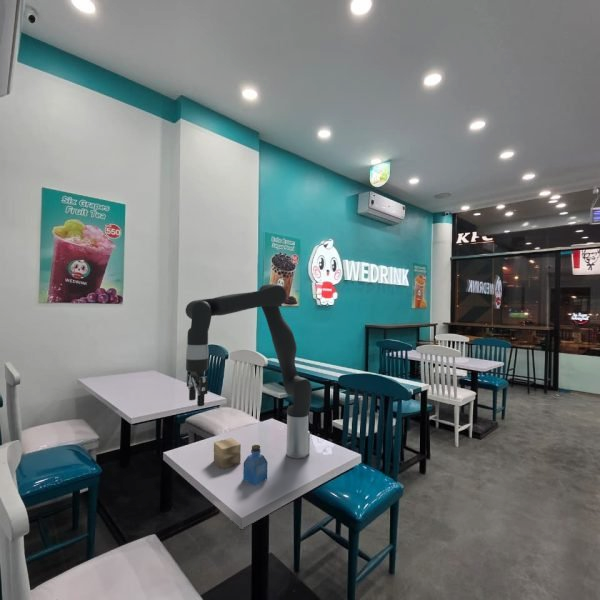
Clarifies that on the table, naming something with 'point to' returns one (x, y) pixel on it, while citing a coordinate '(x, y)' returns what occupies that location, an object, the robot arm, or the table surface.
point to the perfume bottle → (255, 466)
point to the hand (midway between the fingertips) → (196, 402)
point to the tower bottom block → (227, 461)
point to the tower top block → (227, 448)
